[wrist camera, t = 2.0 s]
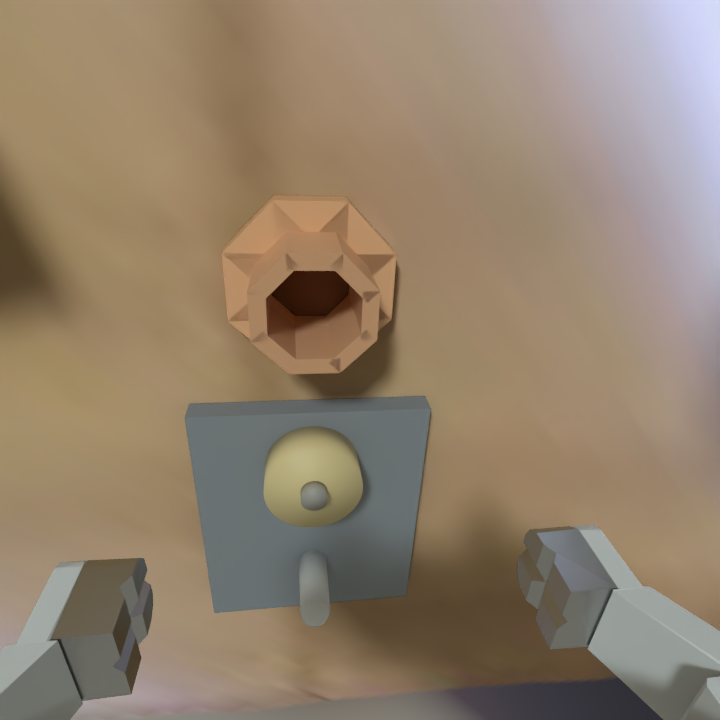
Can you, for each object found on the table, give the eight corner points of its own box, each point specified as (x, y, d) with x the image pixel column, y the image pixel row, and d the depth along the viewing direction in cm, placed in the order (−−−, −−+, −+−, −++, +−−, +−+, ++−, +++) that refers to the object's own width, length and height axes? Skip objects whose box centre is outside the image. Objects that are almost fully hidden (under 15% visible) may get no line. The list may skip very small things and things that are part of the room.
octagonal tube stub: (394, 198, 26) (419, 219, 21) (383, 349, 30) (402, 396, 25) (220, 193, 24) (203, 215, 20) (234, 352, 29) (223, 402, 24)
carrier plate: (425, 396, 32) (454, 459, 26) (402, 579, 40) (421, 658, 34) (189, 403, 30) (165, 474, 24) (216, 595, 38) (204, 681, 32)
